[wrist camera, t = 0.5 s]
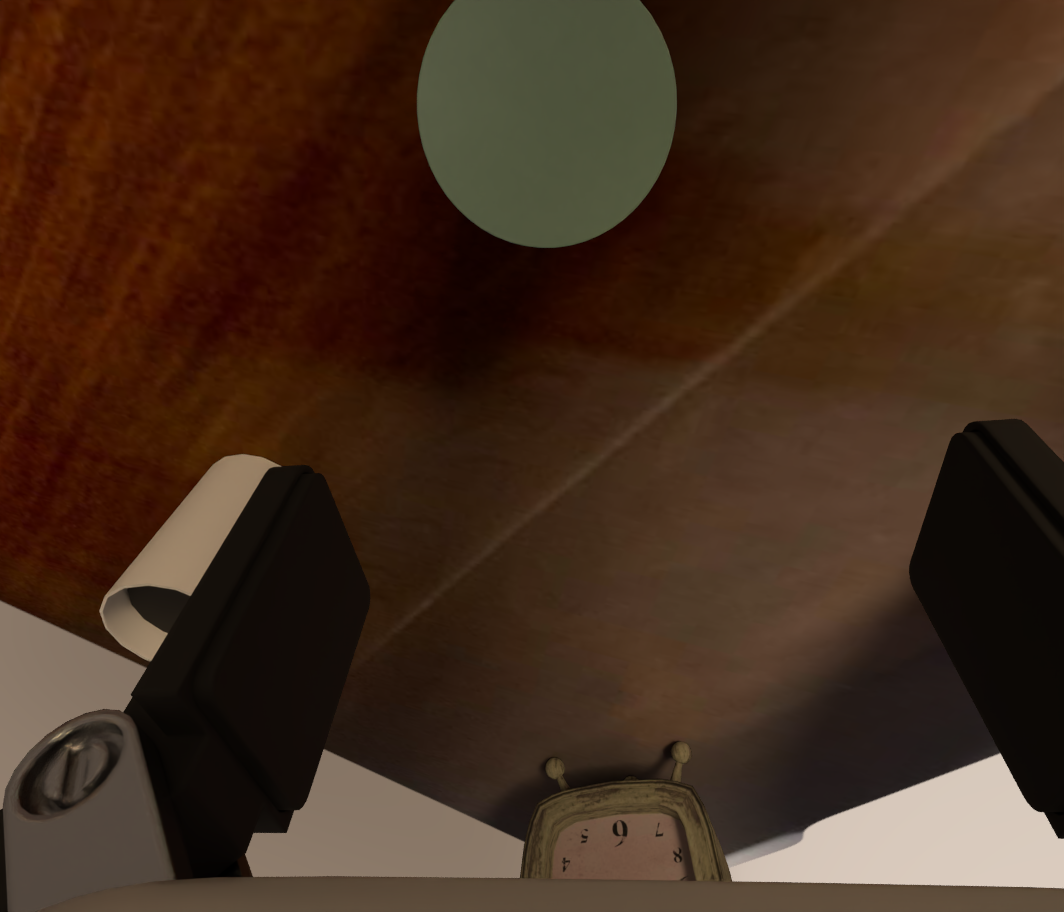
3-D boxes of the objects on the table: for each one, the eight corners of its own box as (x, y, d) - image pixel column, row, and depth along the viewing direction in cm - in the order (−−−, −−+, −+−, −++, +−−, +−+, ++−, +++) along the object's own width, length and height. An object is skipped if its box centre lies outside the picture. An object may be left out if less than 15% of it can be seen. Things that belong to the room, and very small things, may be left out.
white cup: (298, 449, 36) (220, 585, 28) (323, 534, 40) (261, 675, 32) (183, 446, 37) (74, 580, 29) (219, 531, 41) (132, 669, 33)
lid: (460, -92, 15) (449, -97, 14) (714, 10, 16) (727, 14, 15) (408, 188, 19) (395, 205, 18) (615, 257, 20) (617, 278, 19)
